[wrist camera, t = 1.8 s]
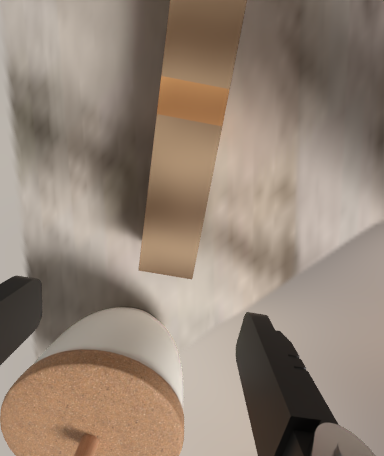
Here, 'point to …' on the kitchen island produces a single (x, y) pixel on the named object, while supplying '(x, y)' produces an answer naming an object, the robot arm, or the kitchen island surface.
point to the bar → (188, 129)
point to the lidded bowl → (100, 391)
